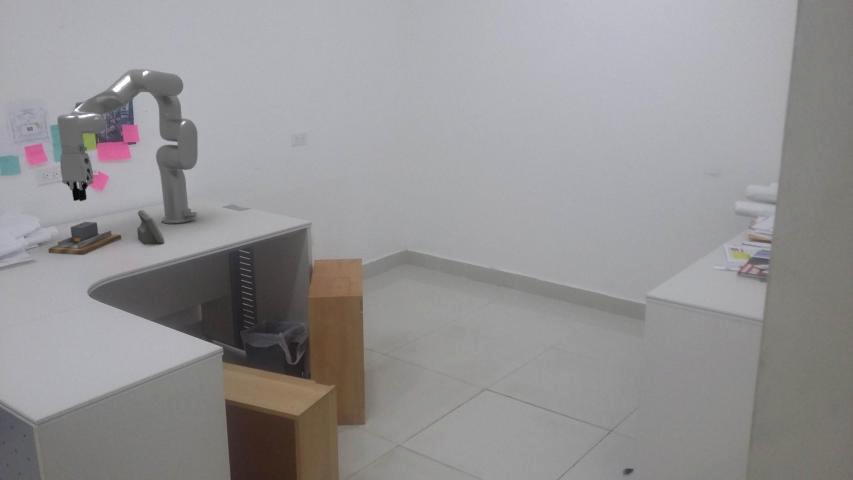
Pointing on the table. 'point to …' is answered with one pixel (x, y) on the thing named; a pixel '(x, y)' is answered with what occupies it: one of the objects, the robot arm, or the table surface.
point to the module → (84, 231)
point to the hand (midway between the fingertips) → (80, 199)
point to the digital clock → (148, 229)
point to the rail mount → (84, 244)
